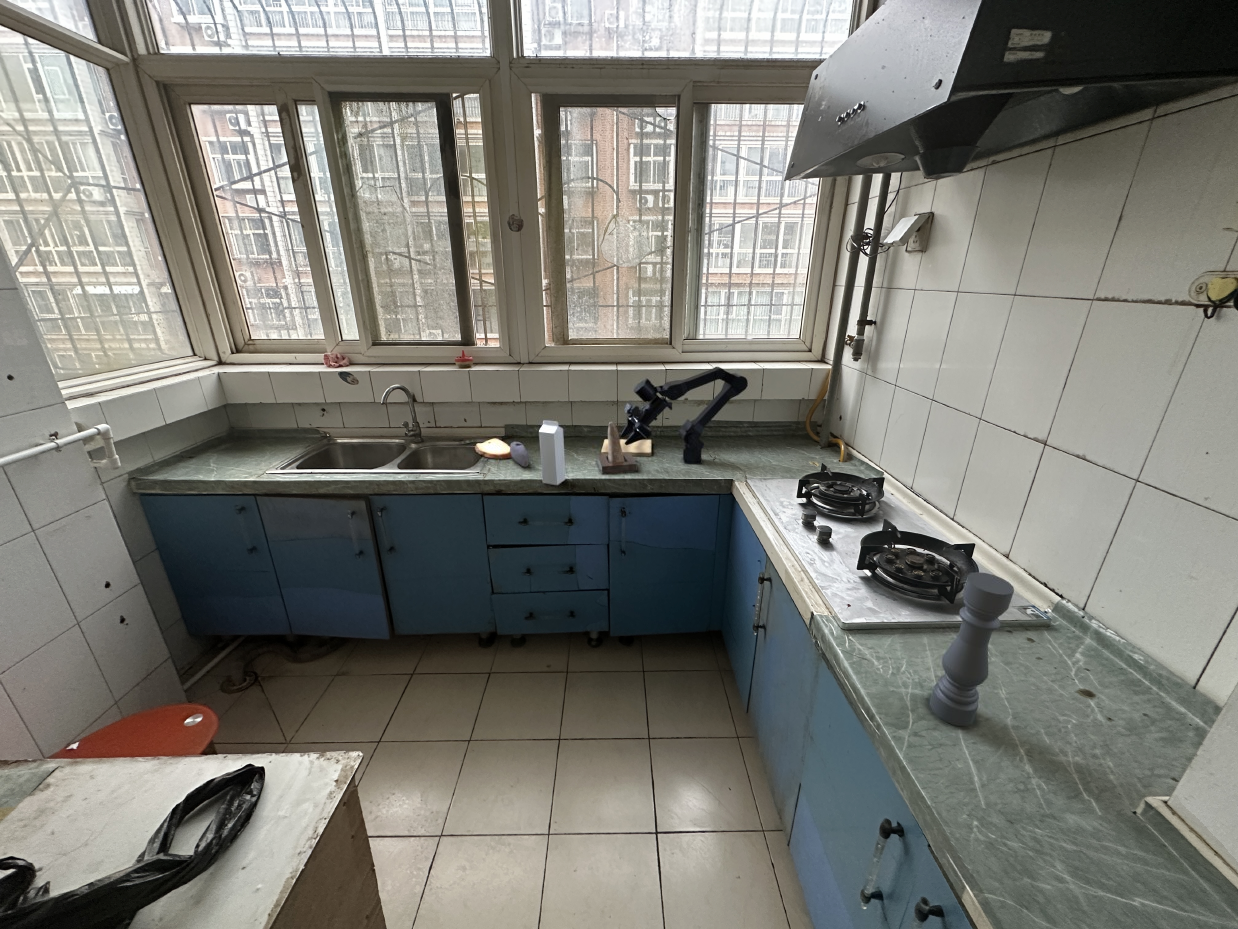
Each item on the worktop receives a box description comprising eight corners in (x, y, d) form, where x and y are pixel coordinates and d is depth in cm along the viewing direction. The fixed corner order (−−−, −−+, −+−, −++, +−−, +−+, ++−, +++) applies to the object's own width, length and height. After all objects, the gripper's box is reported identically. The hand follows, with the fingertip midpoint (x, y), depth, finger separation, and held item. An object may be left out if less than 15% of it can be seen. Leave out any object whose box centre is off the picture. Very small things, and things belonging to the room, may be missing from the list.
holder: (630, 459, 195) (630, 452, 194) (636, 471, 183) (637, 463, 182) (597, 461, 193) (597, 454, 192) (602, 474, 181) (601, 466, 180)
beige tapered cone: (609, 465, 191) (608, 471, 186) (601, 420, 184) (599, 426, 179) (625, 463, 190) (625, 469, 185) (618, 418, 184) (617, 423, 178)
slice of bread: (512, 459, 196) (511, 450, 195) (467, 459, 197) (466, 450, 195) (521, 444, 213) (521, 436, 212) (480, 444, 214) (479, 436, 212)
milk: (551, 477, 179) (547, 417, 171) (566, 479, 177) (562, 419, 169) (542, 483, 174) (537, 422, 166) (557, 485, 171) (553, 424, 164)
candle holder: (956, 695, 85) (995, 570, 76) (982, 726, 80) (1027, 595, 71) (921, 696, 85) (955, 571, 76) (944, 727, 79) (984, 596, 70)
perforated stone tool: (533, 468, 187) (532, 451, 184) (520, 470, 185) (518, 453, 182) (522, 456, 199) (521, 439, 197) (509, 458, 197) (508, 441, 195)
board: (651, 443, 213) (651, 439, 213) (651, 455, 198) (651, 452, 198) (604, 442, 214) (604, 439, 214) (601, 455, 199) (601, 451, 199)
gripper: (632, 390, 188) (604, 419, 190) (643, 401, 171) (611, 434, 173) (652, 409, 192) (624, 438, 194) (664, 422, 175) (633, 454, 177)
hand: (623, 440), depth 185 cm, fingers open, 9 cm apart
